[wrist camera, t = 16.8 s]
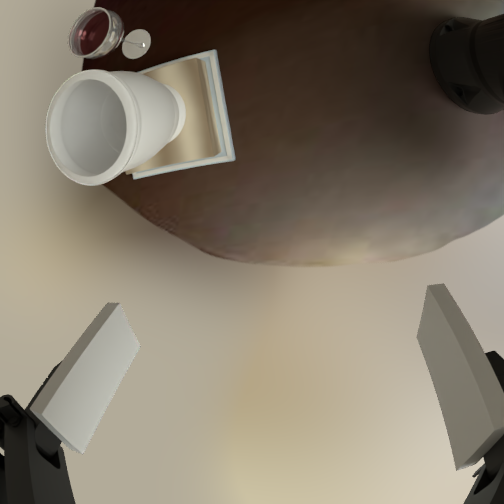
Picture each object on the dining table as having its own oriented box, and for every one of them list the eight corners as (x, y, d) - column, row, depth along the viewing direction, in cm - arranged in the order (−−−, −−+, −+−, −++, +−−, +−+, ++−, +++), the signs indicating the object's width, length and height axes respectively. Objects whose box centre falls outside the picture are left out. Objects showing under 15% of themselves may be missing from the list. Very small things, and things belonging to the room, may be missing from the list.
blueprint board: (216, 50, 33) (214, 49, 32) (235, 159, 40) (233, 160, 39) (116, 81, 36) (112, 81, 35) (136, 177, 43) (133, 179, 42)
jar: (210, 99, 32) (159, 100, 19) (170, 167, 37) (108, 207, 24) (143, 62, 30) (68, 53, 17) (109, 129, 35) (33, 153, 22)
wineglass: (145, 16, 31) (101, -4, 20) (163, 47, 33) (119, 32, 23) (111, 41, 33) (61, 32, 22) (127, 72, 35) (77, 69, 25)
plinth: (205, 61, 33) (196, 57, 30) (221, 151, 39) (214, 156, 35) (122, 87, 36) (108, 87, 32) (139, 168, 41) (126, 174, 38)
